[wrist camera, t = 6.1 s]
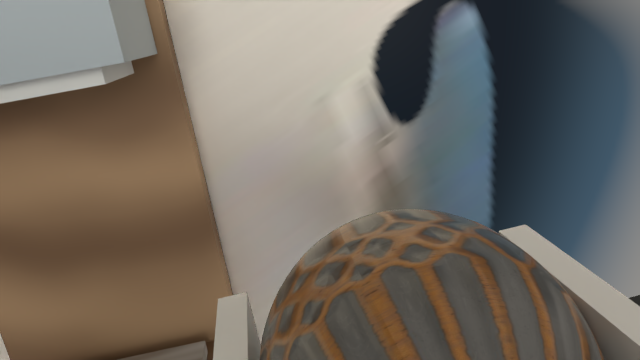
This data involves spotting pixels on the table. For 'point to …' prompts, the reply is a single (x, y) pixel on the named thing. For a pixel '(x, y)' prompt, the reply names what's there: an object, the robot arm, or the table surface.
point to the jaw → (69, 44)
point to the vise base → (108, 221)
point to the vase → (423, 297)
